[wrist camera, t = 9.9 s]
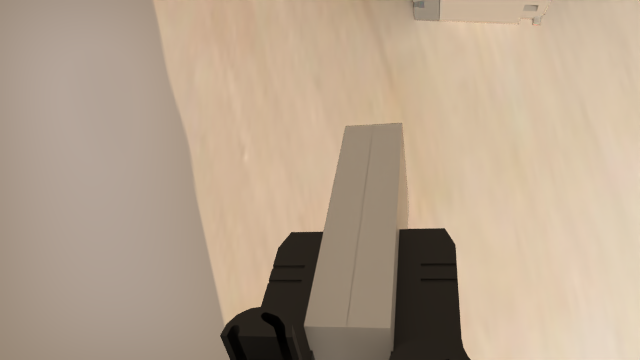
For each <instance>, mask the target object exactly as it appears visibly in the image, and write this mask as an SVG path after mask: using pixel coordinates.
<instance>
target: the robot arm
mask: <svg viewBox="0 0 640 360" xmlns="http://www.w3.org/2000/svg"><path fill="white" fill-rule="evenodd" d="M408 210H409V201H408V188H407V176H406V164H405V151H404V139H403V127H402V123H391V124H374V125H357V126H346V127H345V131H344V136H343V141H342V146H341V150H340V155H339V160H338V165H337V170H336V174H335V179H334V184H333V189H332V194H331V198H330V203H329V208H328V213H327V217H326V222H325V227H324V232H291V233H290V235H289V236H288V237H287V238H286V239H285V241H284V242H283V243H282V244H281V245H280V247H279V248H278V251H277V254H276V258H275V261H274V265H273V269H272V271H271V275H270V278H269V283H268V285H267V288H266V292H265V295H264V299H263V302H262V305H261V307H257V308H250V309H248V310H246V311H244V312H242V313H240V314H238V315H236V316H235V317H234V318H233V319H232V320H231V321H230V322H228V323H227V324H226V326H225V328H224V330H223V331H222V333H221V335H220V336H221V339H222V341H223V343H224V346H225V348H226V351H227V353H228V355H229V358H230V360H470V358H469V357H468V356H467V354H466V352H465V350H464V348H463V344H462V339H461V325H460V310H459V294H458V279H457V263H456V248H455V243H454V242H453V240H452V239H451V237H450V236H449V234H448V233H447V231H446V230H445V228H441V229H408Z"/></svg>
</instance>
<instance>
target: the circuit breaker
mask: <svg viewBox="0 0 640 360" xmlns="http://www.w3.org/2000/svg"><path fill="white" fill-rule="evenodd" d="M550 1H551V0H413V3H414V18H415V20H428V21H452V22H477V23H501V24H519V21H520V19H533V25H540V23H541V17H542V15H545V12H546V10H547V8H548V6H549V3H550ZM439 16H440V18H439Z"/></svg>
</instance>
